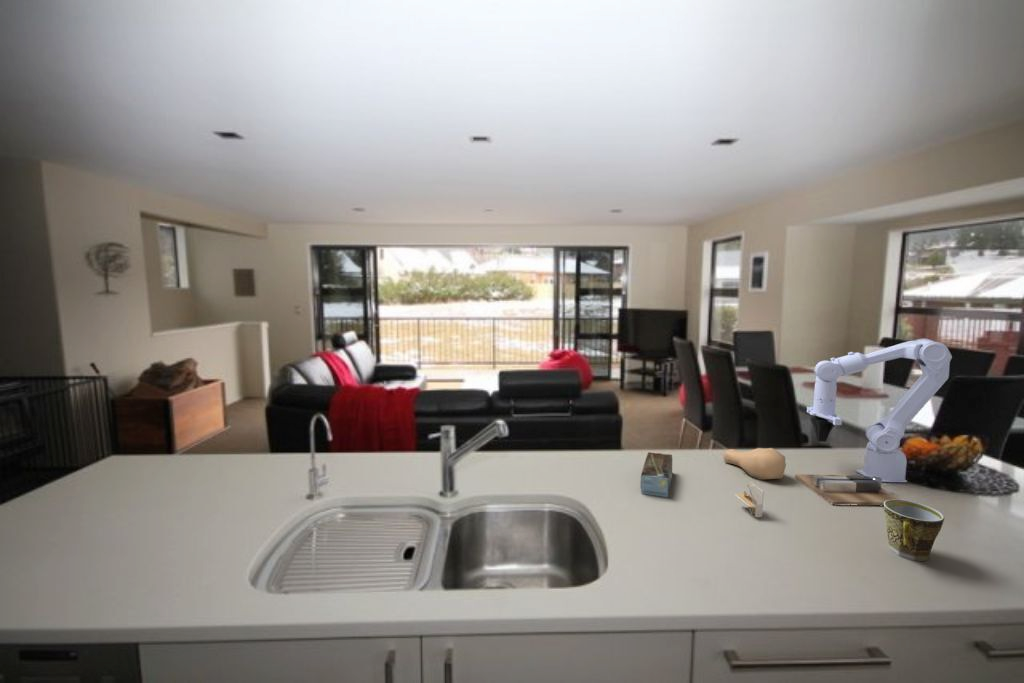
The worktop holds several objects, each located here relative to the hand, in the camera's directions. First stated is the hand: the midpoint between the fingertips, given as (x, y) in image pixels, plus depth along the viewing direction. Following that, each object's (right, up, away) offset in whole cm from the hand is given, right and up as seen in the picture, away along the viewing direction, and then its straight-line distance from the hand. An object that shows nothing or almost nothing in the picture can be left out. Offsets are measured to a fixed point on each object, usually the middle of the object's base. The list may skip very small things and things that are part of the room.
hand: (821, 440), depth 146 cm
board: (-3, -11, -15) cm, 19 cm away
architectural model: (-36, -14, -26) cm, 47 cm away
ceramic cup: (-12, -15, -46) cm, 50 cm away
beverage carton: (-55, -11, -8) cm, 57 cm away
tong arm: (-2, -10, -14) cm, 18 cm away
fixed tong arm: (-4, -11, -17) cm, 20 cm away
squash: (-22, -10, 0) cm, 25 cm away
